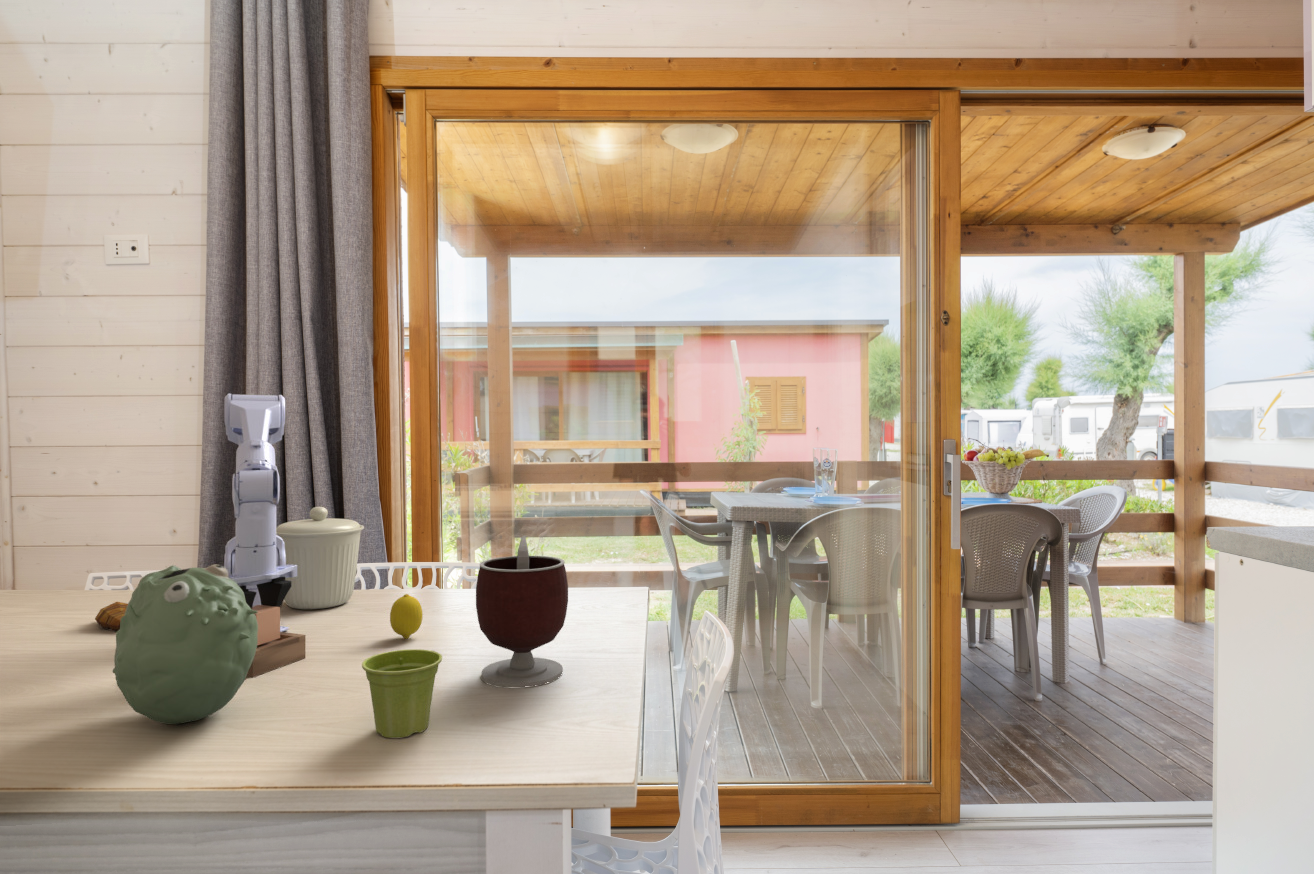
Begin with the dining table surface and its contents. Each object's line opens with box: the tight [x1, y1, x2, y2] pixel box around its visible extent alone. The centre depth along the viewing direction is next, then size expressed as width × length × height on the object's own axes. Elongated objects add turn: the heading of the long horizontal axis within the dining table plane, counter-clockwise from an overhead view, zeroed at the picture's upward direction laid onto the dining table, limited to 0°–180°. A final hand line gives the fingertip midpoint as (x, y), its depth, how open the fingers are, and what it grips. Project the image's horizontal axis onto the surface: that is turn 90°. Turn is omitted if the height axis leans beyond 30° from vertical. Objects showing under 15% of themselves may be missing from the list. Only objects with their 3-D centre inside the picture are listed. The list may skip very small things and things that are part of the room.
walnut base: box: [246, 631, 306, 678], centre depth 116 cm, size 10×10×4 cm
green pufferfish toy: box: [112, 563, 258, 725], centre depth 93 cm, size 16×19×20 cm
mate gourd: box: [475, 535, 569, 688], centre depth 112 cm, size 16×14×20 cm
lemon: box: [389, 593, 424, 640], centre depth 130 cm, size 6×6×8 cm
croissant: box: [94, 601, 128, 632], centre depth 138 cm, size 14×7×5 cm, turn 54°
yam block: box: [252, 605, 281, 645], centre depth 115 cm, size 4×4×5 cm
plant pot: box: [361, 648, 443, 739], centre depth 90 cm, size 9×9×9 cm
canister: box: [276, 506, 365, 610], centre depth 156 cm, size 18×18×21 cm
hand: (256, 629), depth 116 cm, fingers closed on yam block, 4 cm apart
